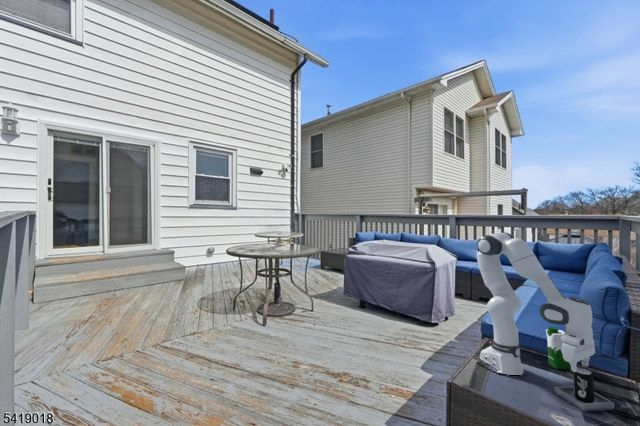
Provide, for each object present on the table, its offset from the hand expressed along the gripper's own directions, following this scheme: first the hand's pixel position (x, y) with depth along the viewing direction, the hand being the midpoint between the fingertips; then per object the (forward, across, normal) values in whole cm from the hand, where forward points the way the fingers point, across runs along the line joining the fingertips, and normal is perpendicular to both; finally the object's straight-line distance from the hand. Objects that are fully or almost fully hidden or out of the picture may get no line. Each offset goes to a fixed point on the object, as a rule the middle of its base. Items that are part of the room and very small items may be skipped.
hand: (579, 368), depth 129 cm
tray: (+13, 0, +1) cm, 13 cm away
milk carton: (+14, -28, -20) cm, 37 cm away
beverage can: (+13, 0, +1) cm, 13 cm away
